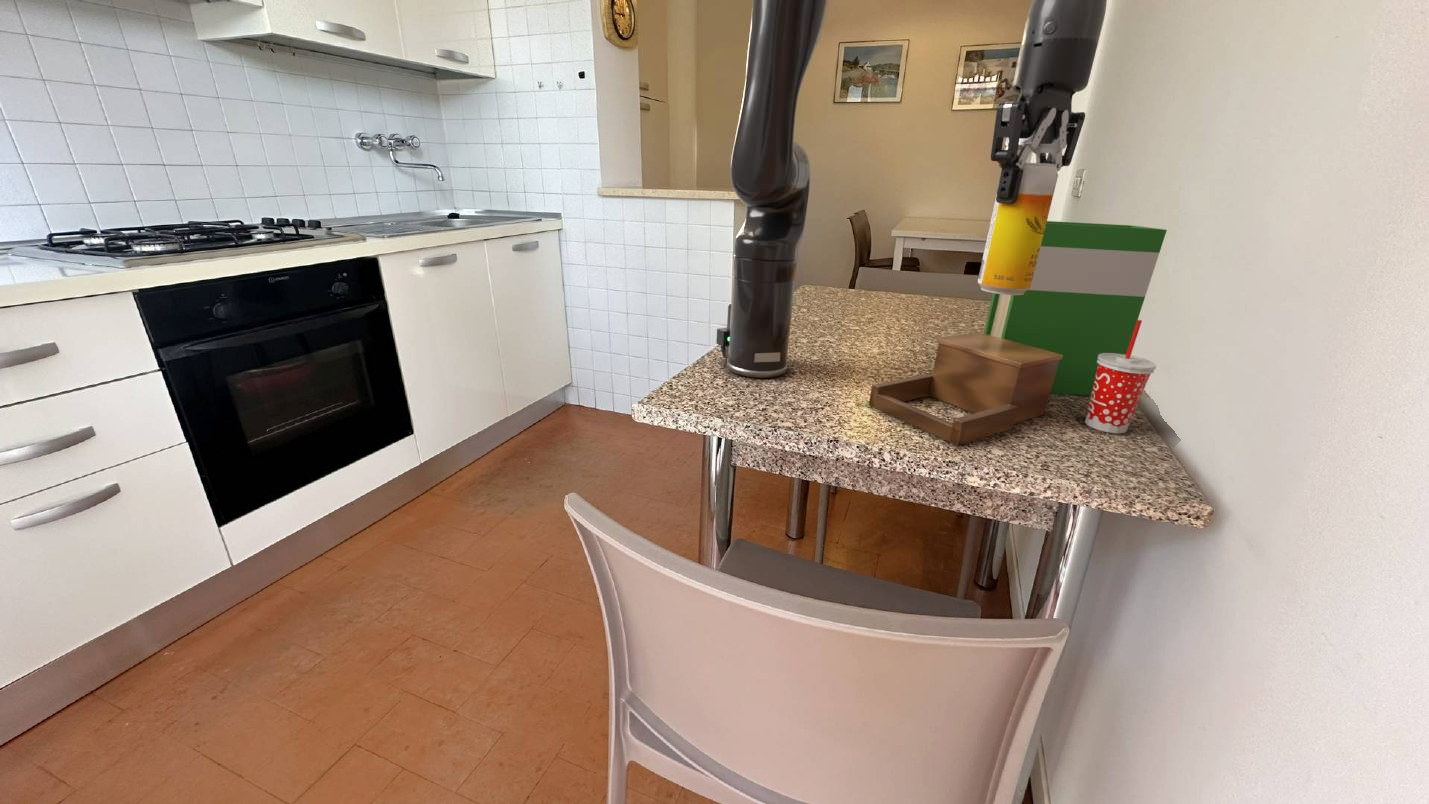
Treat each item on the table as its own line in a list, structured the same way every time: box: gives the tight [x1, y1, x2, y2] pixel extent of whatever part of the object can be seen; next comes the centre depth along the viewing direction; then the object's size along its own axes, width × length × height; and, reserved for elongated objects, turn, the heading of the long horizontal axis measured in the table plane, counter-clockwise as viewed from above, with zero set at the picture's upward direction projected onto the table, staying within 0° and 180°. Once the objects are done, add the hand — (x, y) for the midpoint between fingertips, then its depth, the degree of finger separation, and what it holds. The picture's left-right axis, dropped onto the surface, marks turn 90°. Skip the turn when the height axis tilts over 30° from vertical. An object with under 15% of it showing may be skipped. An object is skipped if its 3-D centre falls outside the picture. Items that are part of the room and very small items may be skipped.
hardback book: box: [983, 220, 1168, 396], centre depth 85 cm, size 18×7×24 cm, turn 86°
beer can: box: [977, 162, 1059, 295], centre depth 70 cm, size 6×6×15 cm
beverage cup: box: [1084, 319, 1157, 434], centre depth 72 cm, size 6×6×14 cm
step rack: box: [868, 331, 1063, 447], centre depth 75 cm, size 14×20×8 cm
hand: (1022, 203), depth 69 cm, fingers closed on beer can, 6 cm apart
